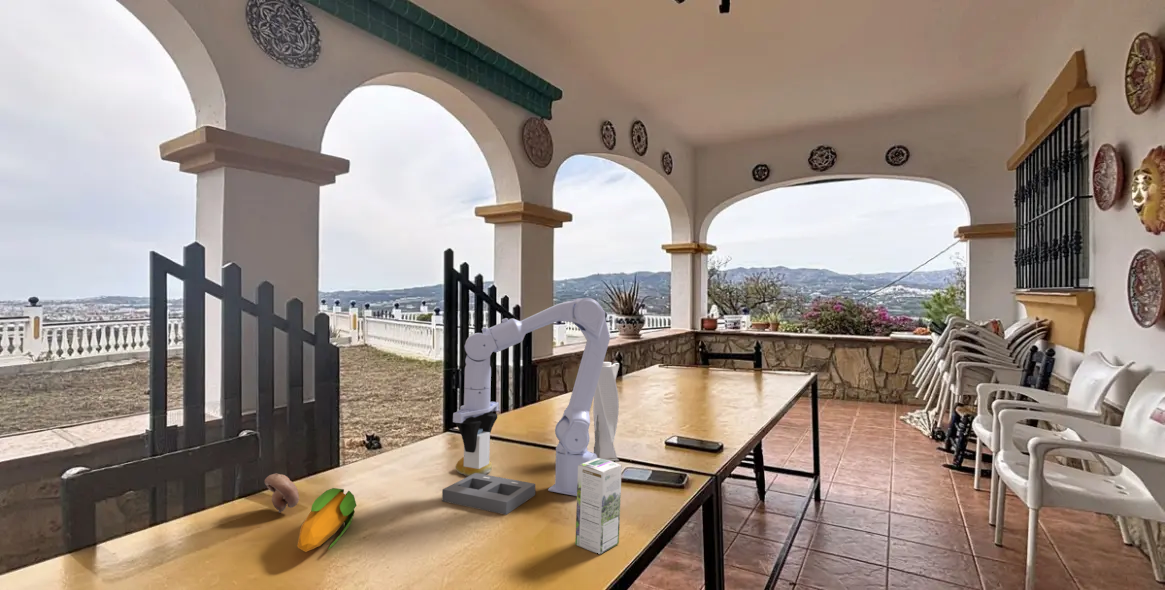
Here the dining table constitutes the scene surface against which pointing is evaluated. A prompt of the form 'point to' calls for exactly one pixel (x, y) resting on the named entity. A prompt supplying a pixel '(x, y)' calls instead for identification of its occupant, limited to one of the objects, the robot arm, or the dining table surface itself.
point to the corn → (327, 518)
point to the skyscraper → (606, 412)
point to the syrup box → (598, 505)
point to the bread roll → (469, 471)
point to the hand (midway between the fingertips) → (476, 449)
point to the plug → (479, 451)
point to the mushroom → (282, 491)
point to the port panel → (489, 493)
